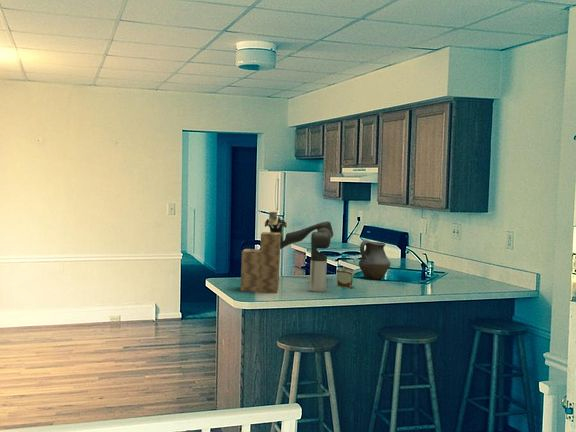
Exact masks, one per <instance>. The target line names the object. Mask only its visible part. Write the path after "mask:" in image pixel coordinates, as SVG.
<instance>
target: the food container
mask: <svg viewBox="0 0 576 432" xmlns="http://www.w3.org/2000/svg"><path fill="white" fill-rule="evenodd" d="M335 273H336V286H337V287H339V286H341V287H340V288H344V287H347V288H346V289H352V288H353V283H354V282H353V281H354V276H355V271H354V270H353V269H346V268H345V269H344V268H342V269H341V268H337V269H336V270H335Z"/></svg>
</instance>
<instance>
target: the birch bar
mask: <svg viewBox="0 0 576 432" xmlns="http://www.w3.org/2000/svg"><path fill="white" fill-rule="evenodd" d="M278 217H279V216H278V212H277V211H269V213H268V219H269V223H268V224H269V225H276V224H277V223H278Z"/></svg>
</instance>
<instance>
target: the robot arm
mask: <svg viewBox="0 0 576 432" xmlns="http://www.w3.org/2000/svg"><path fill="white" fill-rule="evenodd" d="M277 217H278V223H277V224H276V225H269V218H267V219H266V220H265V221H264V227H266V228H267V227H268V228H269V232H273V233H281V241H280V250H282V249H284V248H285V247H287V246H289V245H292V244H296V243H300V242H302V241H303V240H304V239H306V238H307V236H309V234H310V233H311V237H310V268H309V269H310V270H309V273H310V274H309V291H310V292H314V293H315V292H316V293H317V292H318V293H319V292H320V293H323V292H325V293H326V292H327V290H326V289H327V268H328V267H327V266H328V256H327V255H326V254H324V253H322V252H320V251H319V250H317V249H323V250H324V249H325V250H326V249H328V248H329V247H330V246H331V245H330V244H331V239H332V238H333V237H334V231H333V227H332V223H331V222H330V221H321V222H320V223H316V224H313V225H310V226H307V227H305V228H302V229H300V230H299V229H298V230H295V231H292V232H287V233H286V234H285V237H283V232H284V231H283V228H285V229H286V228H287V226H288V225H287V222H286V221H285V220H284V219H281V217H280V216H277ZM315 230H317V231H315Z"/></svg>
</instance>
